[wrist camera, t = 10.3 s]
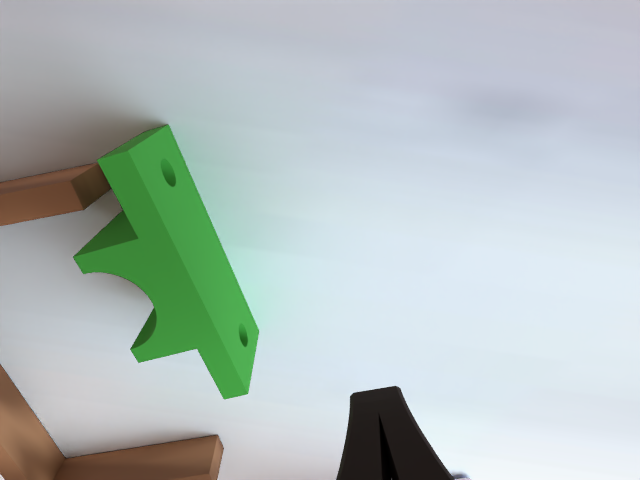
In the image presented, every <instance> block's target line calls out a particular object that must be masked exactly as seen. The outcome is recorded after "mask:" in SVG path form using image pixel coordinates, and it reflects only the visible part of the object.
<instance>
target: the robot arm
mask: <svg viewBox="0 0 640 480" xmlns="http://www.w3.org/2000/svg"><path fill="white" fill-rule="evenodd" d="M391 478H392V480H471V479H470V478H459V479H454V478H453V477H452V476H451V474H450V473H449V472H448V470H447V469H446V467H445V466H444V465H443V463H442V462H441V460H440V459H439V457H438V456H437V454H436V453H435V451H434V450H433V448H432V447H431V445H430V444H429V442H428V441H427V439H426V437H425V436H424V434H423V433H422V431H421V429H420V428H419V426H418V424H417V422H416V421H415V419H414V417H413V415H412V413H411V412H410V410H409V408H408V406H407V404H406V401H405V399H404V397H403V394H402V392H401V389H400V388H399V387H397V386H392V387H386V388H380V389H374V390H368V391H362V392H356V393H353V394H352V395H351V396H350V413H349V422H348V428H347V434H346V440H345V445H344V450H343V454H342V459H341V463H340V468H339V471H338V475H337V479H336V480H391Z"/></svg>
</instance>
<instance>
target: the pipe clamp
mask: <svg viewBox="0 0 640 480" xmlns="http://www.w3.org/2000/svg"><path fill="white" fill-rule="evenodd" d="M97 161H98V163H99V165H100V167H101V169H102V171H103V173H104V175H105V177H106V178H107V180H108V182H109V184H110V186H111V188H112V190H113V192H114V193H115V195H116V197H117V199H118V201H119V203H120V205H121V207H122V208H123V210H124V211H122V212H120V213H119V214H118V215H117V216H116V217H115V218H114V219H113V220H112V221H111V222H110V223H109V224H107V225H106V226H105V227H104V228H103V229H102V230H101V231H100V232H99V233H98V234H97V235H96V236H95V237H94V238H93V239H92V240H90V241H89V242H88V243H87V244H86V245H85V246H84V247H83V248H82V249H81V250H80V251H79V252H78V253H77V254H76V255H75V256H73V258H74V260H75V261H76V263H77V265H78V266H79V268H80V269H81V271H82V273H83V274H86V273H92V272H103V273H110V274H114V275H117V276H120V277H123V278H125V279H127V280H129V281H131V282H133V283H134V284H136V285H137V286H138V287H139V288H141V289H142V290H143V291H144V292H145V293H146V294H147V296H148V297H149V298H150V300H151V301H152V303H153V305H154V309H153V311H152V312H151V314H150V316H149V318H148V319H147V321H146V323H145V325H144V326H143V328H142V330H141V332H140V333H139V335H138V337H137V339H136V340H135V342H134V344H133V346H132V347H131V349H130V350H131V351H132V353H133V355H134V356H135V358H136V359H137V361H138V363H140V362H144V361H148V360H152V359H156V358H161V357H165V356H169V355H173V354H177V353H181V352H185V351H189V350H193V349H197V350H198V351H199V353H200V355H201V357H202V359H203V361H204V363H205V365H206V366H207V368H208V370H209V372H210V374H211V376H212V378H213V380H214V382H215V383H216V385H217V387H218V389H219V391H220V393H221V395H222V397H223V398H224V399H228V398H233V397H237V396H242V395H246V394H248V391H249V386H250V380H251V374H252V369H253V363H254V357H255V351H256V346H257V340H258V334H259V330H258V327H257V325H256V323H255V321H254V318H253V316H252V314H251V311H250V309H249V307H248V305H247V302H246V300H245V298H244V295H243V293H242V291H241V289H240V286H239V284H238V282H237V279H236V277H235V275H234V273H233V270H232V268H231V266H230V264H229V261H228V259H227V257H226V254H225V252H224V250H223V248H222V245H221V243H220V241H219V238H218V236H217V234H216V232H215V229H214V227H213V225H212V222H211V220H210V218H209V216H208V213H207V211H206V209H205V207H204V204H203V202H202V200H201V197H200V195H199V193H198V191H197V188H196V186H195V184H194V181H193V179H192V177H191V175H190V172H189V170H188V168H187V165H186V163H185V161H184V159H183V156H182V154H181V152H180V149H179V147H178V145H177V143H176V140H175V138H174V136H173V134H172V131H171V129H170V127H169V125H165V126H162V127H159V128H156V129H152V130H149V131H146V132H143V133H142V134H140V135H138V136H136V137H135V138H133V139H131V140H130V141H128V142H126V143H125V144H123V145H121V146H120V147H118V148H116V149H115V150H113V151H111V152H110V153H108V154H106V155H105V156H103V157H101V158H99V159H98V160H97Z"/></svg>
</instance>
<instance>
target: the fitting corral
mask: <svg viewBox="0 0 640 480" xmlns="http://www.w3.org/2000/svg"><path fill="white" fill-rule="evenodd" d="M110 189H111V187H110V185H109V183H108V181H107V178H106V177H105V175H104V173H103V171H102V169H101V167H100V165H99V163H94V164H89V165H84V166H79V167H74V168H70V169H65V170H60V171H55V172H50V173H45V174H40V175H35V176H30V177H25V178H20V179H15V180H10V181H5V182H0V226H3V225H9V224H14V223H19V222H24V221H29V220H34V219H39V218H44V217H50V216H55V215H60V214H65V213H70V212H75V211H80V210H84V209H85V208H87V207H88V206H89V205H91V204H92V203H93V202H94V201H96V200H97V199H98V198H100V197H101V196H102V195H103V194H105V193H106V192H107V191H108V190H110ZM223 449H224V448H223V445H222V443H221V441H220V439H219V436H218V435H215V436H209V437H202V438H196V439H189V440H183V441H176V442H170V443H163V444H157V445H151V446H144V447H138V448H131V449H125V450H118V451H112V452H105V453H99V454H93V455H86V456H80V457H73V458H67V459H65V457H64V456H63V454H62V453H61V452H60V450H59V449H58V447H57V446H56V444H55V443H54V441H53V440H52V439H51V437H50V436H49V434H48V433H47V431H46V430H45V428H44V427H43V425H42V424H41V423H40V421H39V420H38V418H37V417H36V415H35V414H34V412H33V411H32V410H31V408H30V407H29V405H28V404H27V402H26V401H25V399H24V398H23V396H22V395H21V394H20V392H19V391H18V389H17V388H16V386H15V385H14V383H13V382H12V381H11V379H10V378H9V376H8V375H7V373H6V372H5V370H4V369H3V367H2V366H1V365H0V474H1V475H2V476H3V478H4V479H5V480H217V478H218V473H219V468H220V464H221V459H222V454H223Z"/></svg>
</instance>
